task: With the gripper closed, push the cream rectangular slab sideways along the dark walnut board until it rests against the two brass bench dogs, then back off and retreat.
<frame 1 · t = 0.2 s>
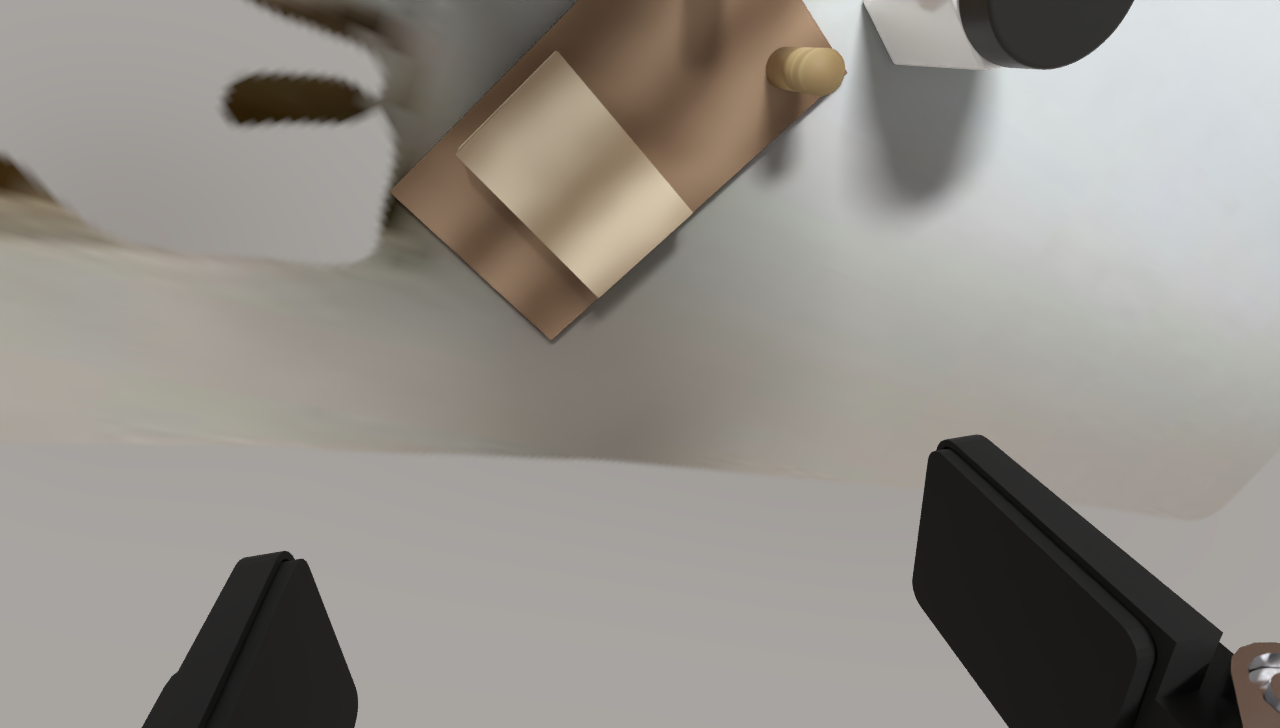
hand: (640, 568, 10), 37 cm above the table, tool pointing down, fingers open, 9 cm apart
board: (620, 129, 42), on the table
cream rectangular slab: (575, 175, 42), point 1 cm above the table, touching board
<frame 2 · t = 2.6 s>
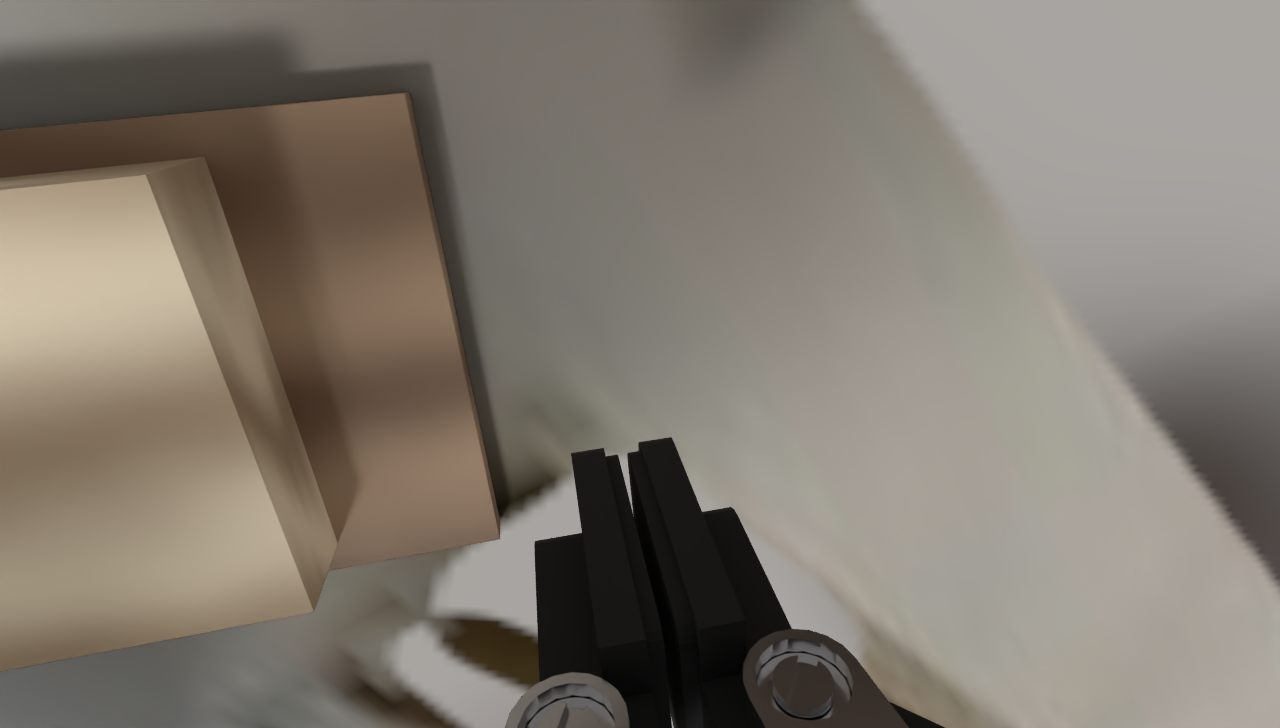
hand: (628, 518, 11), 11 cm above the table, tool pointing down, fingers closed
cream rectangular slab: (127, 398, 18), point 1 cm above the table, touching board
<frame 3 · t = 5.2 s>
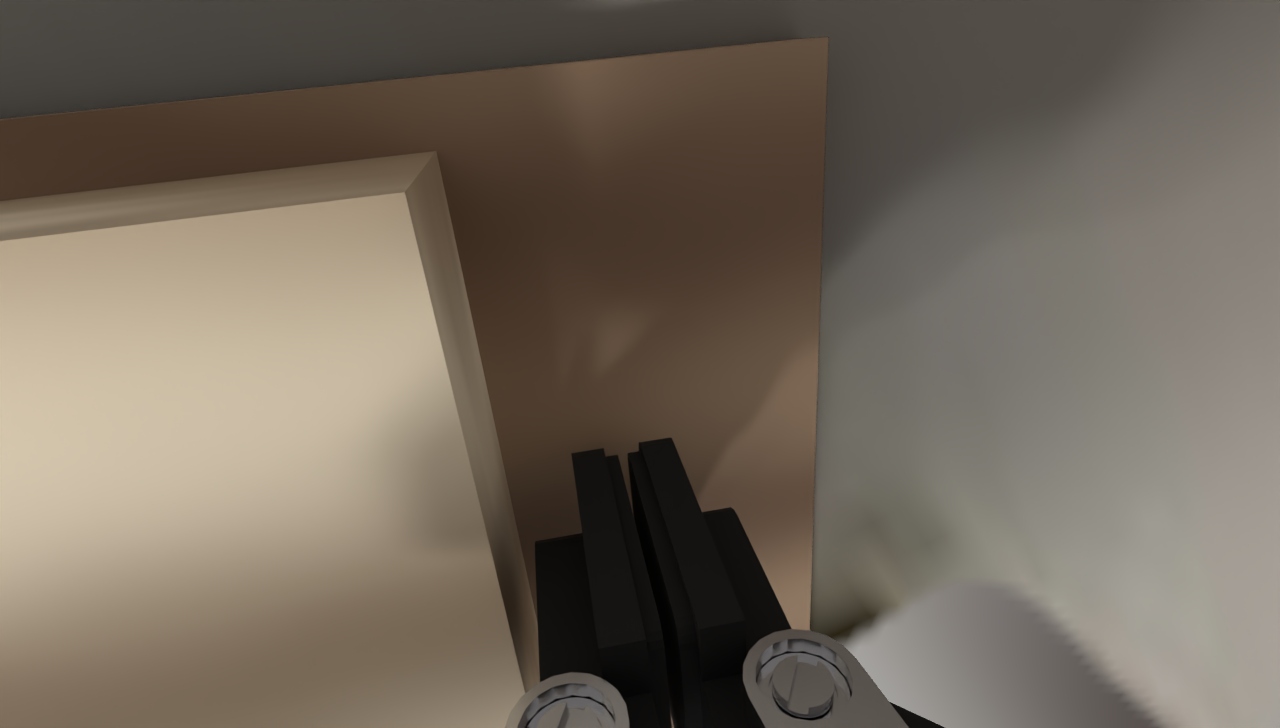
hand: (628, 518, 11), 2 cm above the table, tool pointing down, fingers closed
board: (92, 547, 12), on the table
cream rectangular slab: (274, 546, 11), point 1 cm above the table, touching board, gripper
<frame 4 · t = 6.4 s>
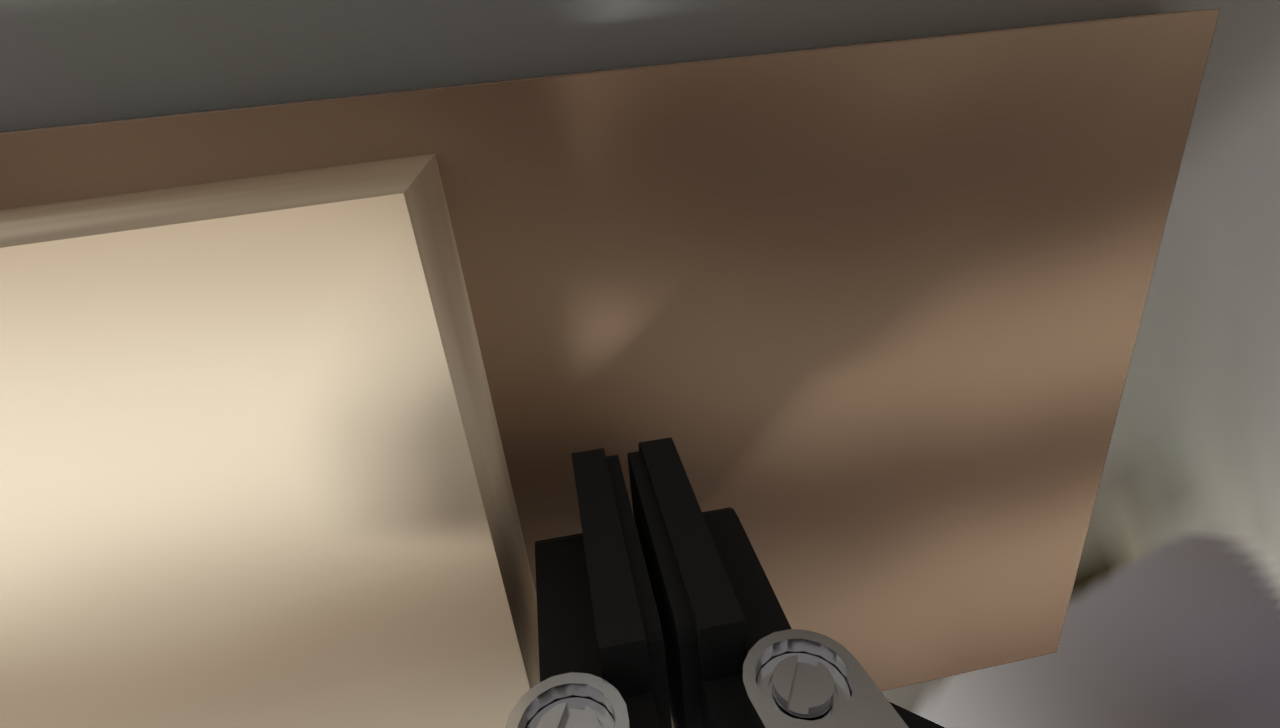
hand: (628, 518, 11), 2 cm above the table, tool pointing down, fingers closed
board: (465, 487, 13), on the table
cream rectangular slab: (281, 545, 11), point 1 cm above the table, touching gripper
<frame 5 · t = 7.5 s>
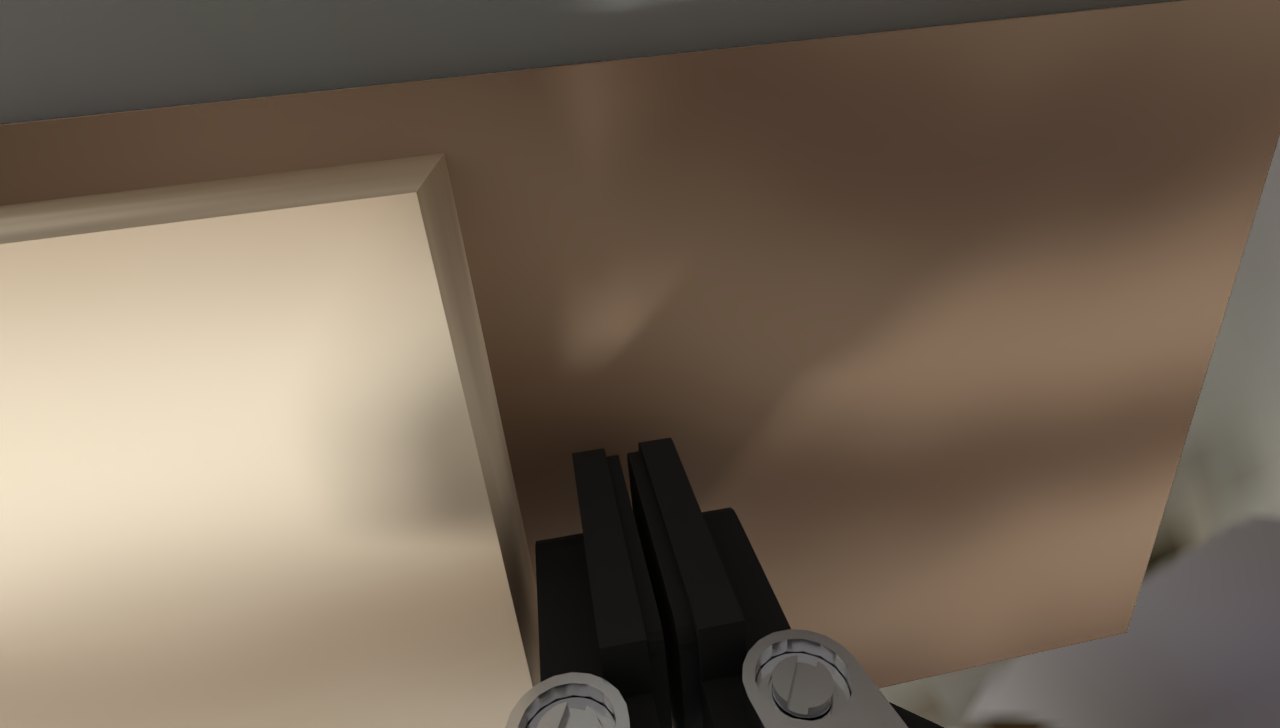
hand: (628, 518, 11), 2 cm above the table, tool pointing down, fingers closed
board: (560, 465, 13), on the table
cream rectangular slab: (284, 543, 11), point 1 cm above the table, touching board, gripper
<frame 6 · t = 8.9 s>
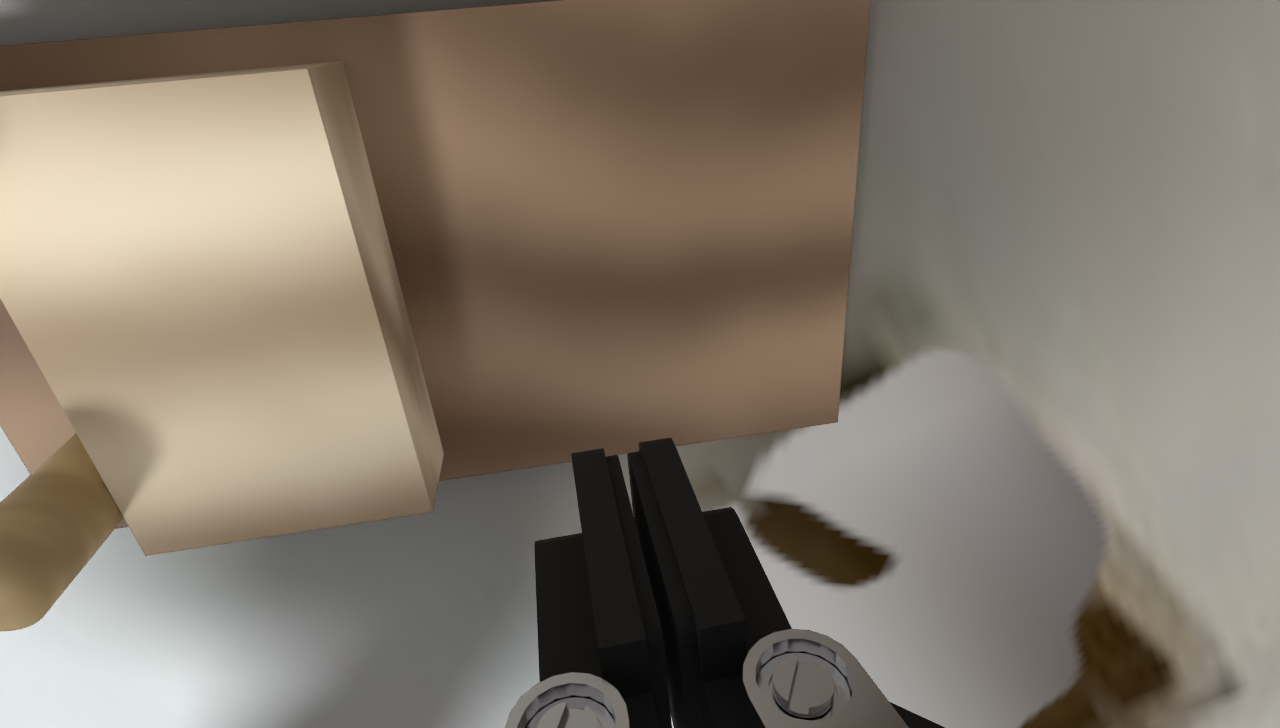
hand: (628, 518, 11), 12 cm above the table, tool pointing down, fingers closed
board: (433, 273, 20), on the table
cream rectangular slab: (257, 302, 19), point 1 cm above the table, touching board
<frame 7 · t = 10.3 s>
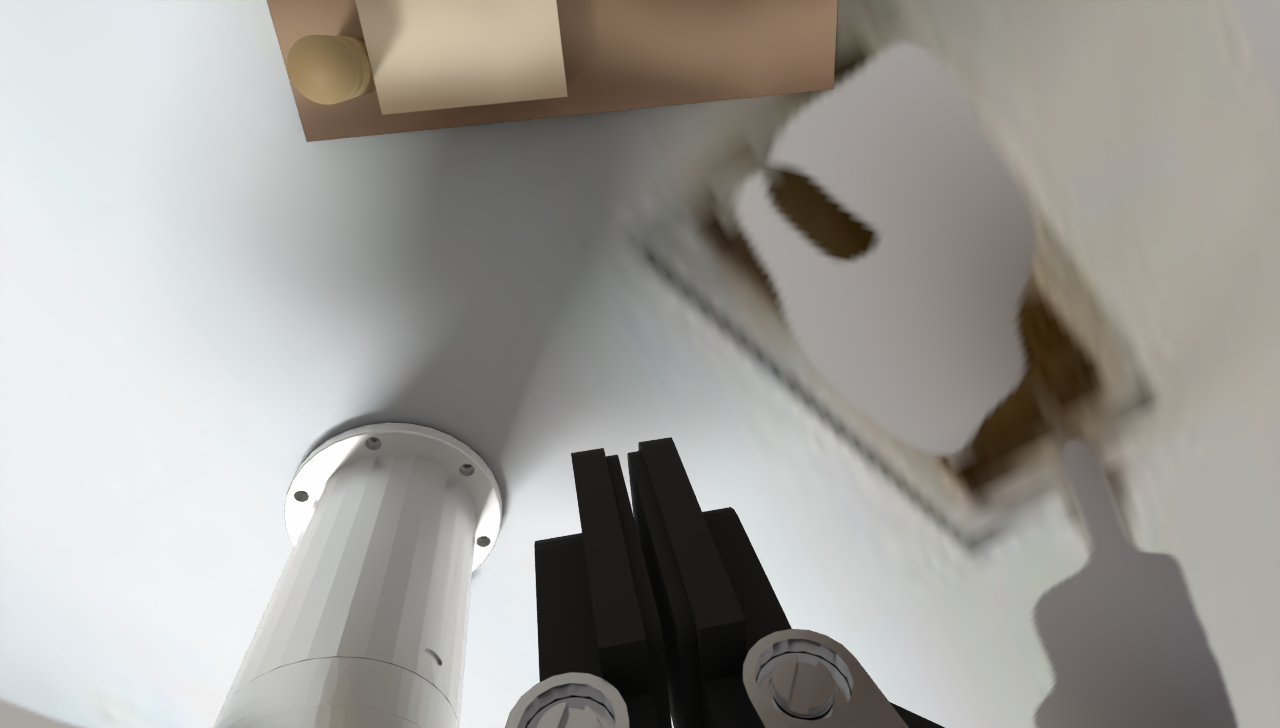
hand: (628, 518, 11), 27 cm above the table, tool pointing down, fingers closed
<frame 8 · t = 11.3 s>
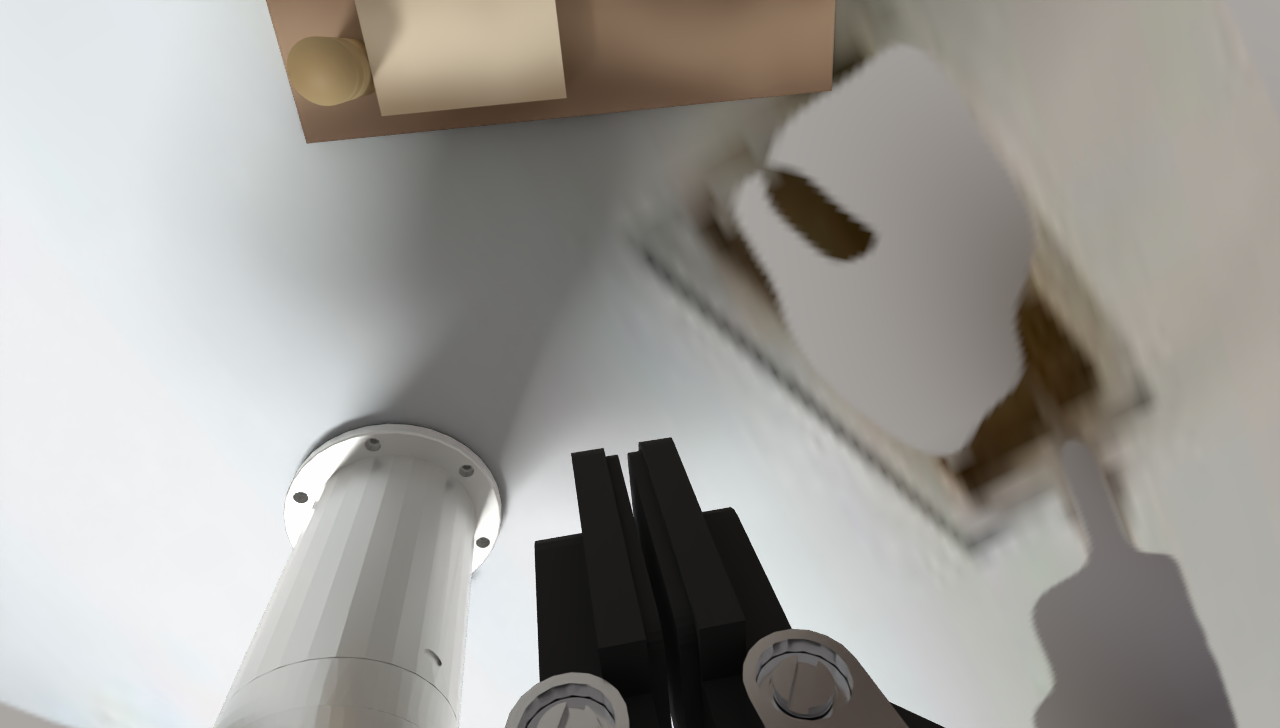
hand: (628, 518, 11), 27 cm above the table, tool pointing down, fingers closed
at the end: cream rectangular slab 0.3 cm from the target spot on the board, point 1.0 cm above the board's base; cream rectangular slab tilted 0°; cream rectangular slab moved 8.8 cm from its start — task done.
